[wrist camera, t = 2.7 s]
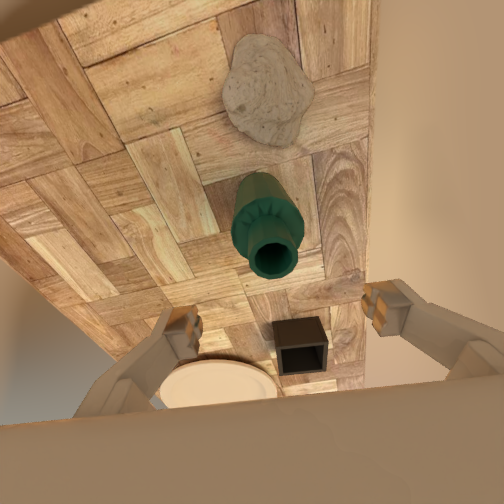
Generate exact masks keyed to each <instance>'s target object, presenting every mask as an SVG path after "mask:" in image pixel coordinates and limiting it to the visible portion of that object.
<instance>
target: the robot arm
mask: <svg viewBox="0 0 504 504" xmlns="http://www.w3.org/2000/svg"><path fill="white" fill-rule="evenodd" d="M363 291H364V292H365V294H364V295H363V296H362V298H361V305H362V309H363V312H364V313H365V315H366V317H368V318H370V319H371V320H373V321H372V325H373V327H374V328H375V330H376V331H377V333H378V334H379V336H380V337H385V336H395V335H396V336H397V335H400V336H401V337H402V338H404V339H405V340H407V341H408V342H410V343H411V344H412V345H414V346H415V347H417V348H418V349H420V350H421V351H423V352H424V353H426V354H427V355H429V356H430V357H432V358H433V359H434V360H436V361H437V362H439V363H440V364H442V365H443V366H445V367H446V368H448V369H449V370H450V371H449V373H448V375H447V376H446V378H445V380H443V381H433V382H423V383H414V384H404V385H395V386H385V387H375V388H365V389H355V390H345V391H335V392H325V393H316V394H306V395H296V396H286V397H277V398H267V399H257V400H248V401H238V402H228V403H218V404H209V405H199V406H189V407H179V408H170V409H160V410H156V408H155V407H154V406H153V405H152V403H151V402H150V401H149V400H150V399H151V398H152V396H153V395H154V394H155V392H156V391H157V390H158V388H159V387H160V386H161V384H162V383H163V382H164V381H165V379H166V378H167V377H168V375H169V374H170V373H171V371H172V370H173V369H174V367H175V366H176V365H177V363H178V362H179V360H184V359H191V358H197V355H198V351H199V346H200V344H199V341H198V340H199V339H200V338H201V336H202V332H203V323H202V319H201V317H200V316H199V315H197V313H198V309H197V306H196V305H189V306H179V307H172V308H165V309H163V310H162V312H161V314H160V317H159V319H158V321H157V323H156V325H155V327H154V329H153V331H152V333H151V335H150V336H149V337H146V338H145V339H144V340H142V341H141V342H140V343H139V344H138V345H137V346H135V347H134V348H133V349H132V350H131V351H130V352H128V353H127V354H126V355H125V356H124V357H123V358H121V359H120V360H119V361H118V362H117V363H116V364H114V365H113V366H112V367H111V368H110V369H109V370H107V371H106V372H105V373H104V374H103V375H102V376H100V377H99V378H98V379H97V380H96V381H95V382H94V384H93V385H92V387H91V388H90V390H89V392H88V393H87V395H86V397H85V398H84V400H83V401H82V403H81V405H80V406H79V408H78V409H77V411H76V413H75V414H74V416H73V418H71V419H61V420H51V421H42V422H32V423H22V424H13V425H2V426H0V504H504V332H501V331H499V330H496V329H494V328H492V327H489V326H487V325H484V324H482V323H479V322H477V321H475V320H472V319H470V318H467V317H464V316H462V315H460V314H457V313H455V312H452V311H450V310H448V309H445V308H443V307H440V306H438V305H435V304H433V303H427V302H426V301H425V300H424V299H422V298H421V297H420V296H419V295H418V294H417V293H416V292H414V290H412V289H411V288H410V287H409V286H408V285H407V284H406V283H405V282H404V281H402V280H400V279H394V280H388V281H381V282H373V283H365V285H364V287H363Z"/></svg>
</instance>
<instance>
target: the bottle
mask: <svg viewBox="0 0 504 504" xmlns="http://www.w3.org/2000/svg"><path fill="white" fill-rule="evenodd" d="M231 236H232V241H233V245H234V246H235V248H236V249H237V250H238V252H239V253H240V255H242V256H243V257H245V258H246V259H248V260H249V265H250V268H251V269H252V270H253V271H254V272H255V273H256V274H257V276H260V277H263V278H266V279H278V278H282V277H284V276H286V275H287V274H289V273H291V272H292V271H293V269H294V268H295V266H296V264H297V263H298V250H297V249H298V248H299V247H300V244H301V242H302V240H303V237H304V220H303V218H302V216H301V214H300V212H299V210H298V208H297V207H296V206H295V204H294V203H293V201H292V200H291V198H290V197H289V196H288V194H287V193H286V191H285V190H284V188H283V187H282V186H281V184H280V183H279V181H278V180H277V179H275V178H274V177H273V176H272V175H270V174H267V173H263V172H258V173H253V174H251V175H249V176H247V177H246V178H245V179H244V180H243V181H242V182H241V184H240V186H239V188H238V192H237V197H236V203H235V209H234V215H233V221H232V227H231Z"/></svg>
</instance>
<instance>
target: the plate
mask: <svg viewBox="0 0 504 504" xmlns="http://www.w3.org/2000/svg"><path fill="white" fill-rule="evenodd" d="M160 396H161V399H162V401H163V402H164V404H165V405H166V406H167V407H168V408H169V409H170V408H179V407H189V406H199V405H209V404H218V403H228V402H238V401H248V400H257V399H267V398H277V388H276V385H275V382H274V381H273V379H272V378H271V377H270V376H269V375H268V374H267V373H265V372H264V371H262V370H260V369H259V368H256V367H254V366H252V365H249V364H245V363H242V362H237V361H231V360H203V361H197V362H192V363H189V364H186V365H183V366H180V367H178V368H176V369H174V370H173V371H171V373H170V374H169V375H168V377H167V378H166V379H165V381H164V382H163V383H162V384H161V387H160Z"/></svg>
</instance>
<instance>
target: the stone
mask: <svg viewBox="0 0 504 504" xmlns="http://www.w3.org/2000/svg"><path fill="white" fill-rule="evenodd" d="M222 99H223V103H224V106H225V109H226V111H227V114H228V116H229V119H230V120H231V122H232V123H233V125H234V127H237V128H238V131H240V132H244V133H245V134H247V135H248V136H249V137H251V138H253V139H254V140H255V141H257V142H259V143H262V144H268V145H272V146H279V147H282V148H287V147H289V146H291V145H292V144H294V142H295V140H296V137H297V135H298V133H299V128H300V122H301V118H302V116H303V114H304V113H305V111H306V110H307V109H308V108H309V106H310V104H311V103H312V101H313V99H314V87H313V84H312V82H311V81H309V80H308V78H307V77H306V75H305V74H304V73H303V71H302V69H301V68H300V66H299V65H298V64H297V62H296V60H295V59H294V57H293V56H292V55H291V53H290V52H289V50H287V49H286V48H285V47H284V45H283V44H282V42H281V41H280V40H278V39H277V38H276V37H270V36H268V35H264V34H247V35H246V36H245V37H243V38H242V39H241V40H240V41H239V42H238V43H237V45H236V47H235V49H234V53H233V60H232V67H231V71H230V72H229V74H228V76H227V78H226V80H225V82H224V86H223V89H222Z"/></svg>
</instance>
